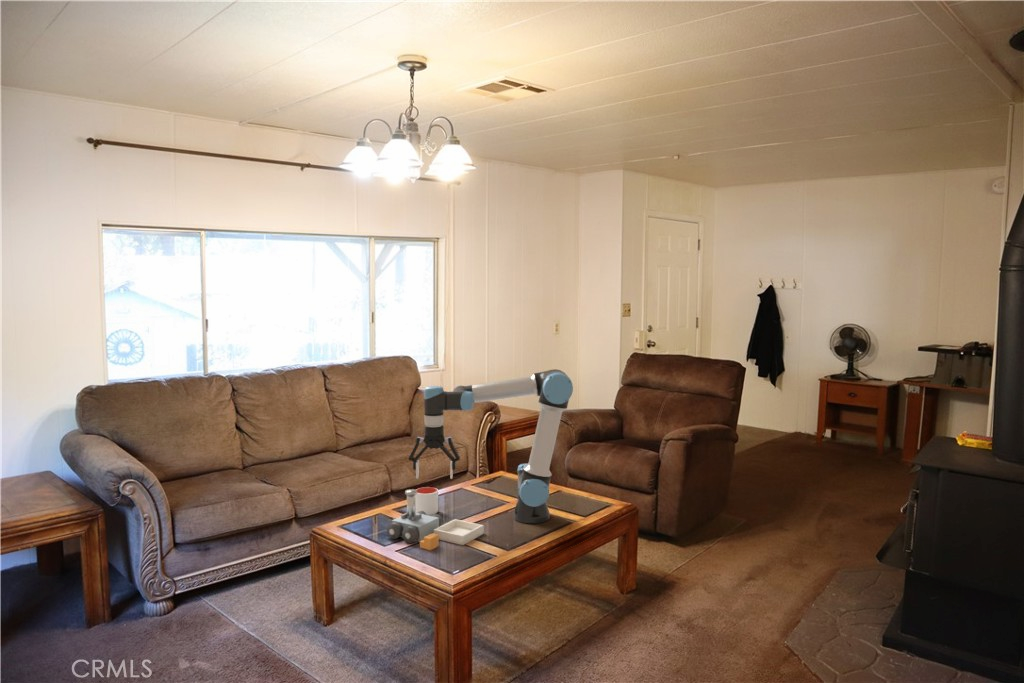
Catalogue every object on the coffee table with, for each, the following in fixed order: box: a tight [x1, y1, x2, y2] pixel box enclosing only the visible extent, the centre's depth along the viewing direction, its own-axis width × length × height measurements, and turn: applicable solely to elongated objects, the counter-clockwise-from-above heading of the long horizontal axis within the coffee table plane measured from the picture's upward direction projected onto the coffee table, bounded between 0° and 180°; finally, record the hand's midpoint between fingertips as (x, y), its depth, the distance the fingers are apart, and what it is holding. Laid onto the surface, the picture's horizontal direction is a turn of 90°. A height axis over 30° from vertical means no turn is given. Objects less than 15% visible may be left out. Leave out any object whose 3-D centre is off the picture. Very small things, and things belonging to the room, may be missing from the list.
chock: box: [419, 533, 440, 551], centre depth 254 cm, size 5×5×4 cm
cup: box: [415, 486, 439, 516], centre depth 292 cm, size 10×10×10 cm
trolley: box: [386, 511, 445, 544], centre depth 267 cm, size 14×19×8 cm
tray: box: [434, 518, 485, 546], centre depth 265 cm, size 14×14×3 cm
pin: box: [404, 488, 417, 520], centre depth 268 cm, size 5×5×11 cm
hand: (434, 477), depth 270 cm, fingers open, 13 cm apart
